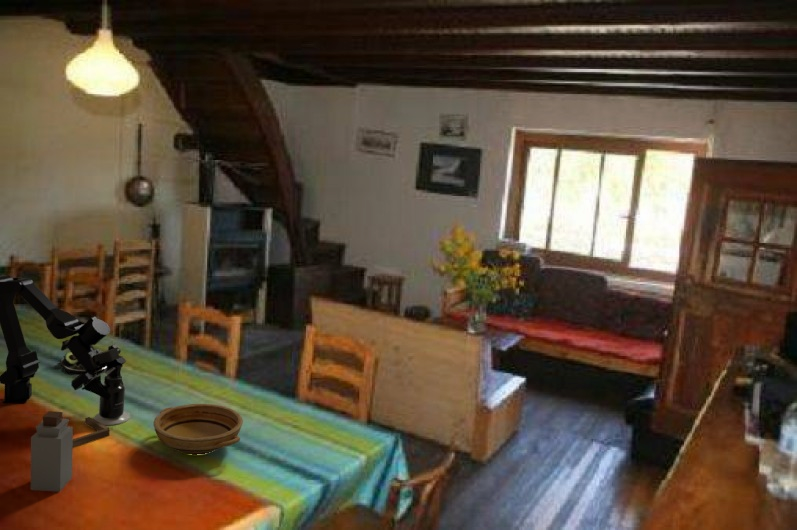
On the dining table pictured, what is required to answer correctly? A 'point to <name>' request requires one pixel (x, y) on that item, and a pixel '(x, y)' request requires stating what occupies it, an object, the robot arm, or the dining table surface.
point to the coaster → (113, 421)
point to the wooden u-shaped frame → (101, 433)
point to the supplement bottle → (112, 398)
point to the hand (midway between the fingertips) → (116, 394)
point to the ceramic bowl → (198, 427)
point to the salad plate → (71, 364)
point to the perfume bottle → (51, 453)
